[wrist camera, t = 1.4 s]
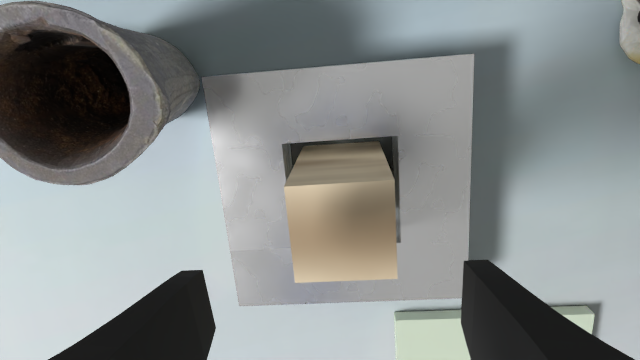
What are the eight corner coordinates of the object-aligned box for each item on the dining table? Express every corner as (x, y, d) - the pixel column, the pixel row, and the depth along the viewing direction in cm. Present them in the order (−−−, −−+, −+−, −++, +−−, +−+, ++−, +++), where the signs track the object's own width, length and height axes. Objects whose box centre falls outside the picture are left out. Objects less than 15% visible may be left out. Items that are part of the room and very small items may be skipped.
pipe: (-19, 22, 20) (-239, 0, 13) (226, 22, 19) (150, -1, 12) (8, 139, 22) (-171, 182, 14) (234, 143, 21) (172, 190, 14)
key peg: (381, 211, 22) (397, 278, 15) (310, 215, 22) (294, 283, 15) (378, 140, 21) (394, 180, 14) (303, 145, 21) (284, 186, 14)
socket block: (454, 272, 23) (467, 297, 20) (249, 281, 24) (239, 306, 21) (458, 54, 19) (474, 53, 17) (218, 75, 20) (201, 77, 18)
